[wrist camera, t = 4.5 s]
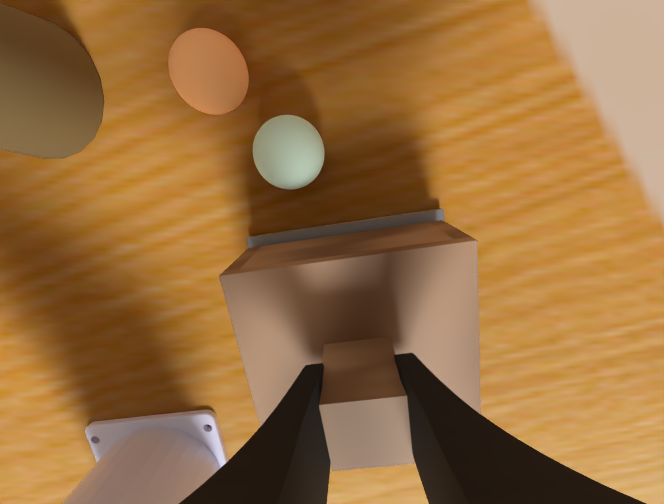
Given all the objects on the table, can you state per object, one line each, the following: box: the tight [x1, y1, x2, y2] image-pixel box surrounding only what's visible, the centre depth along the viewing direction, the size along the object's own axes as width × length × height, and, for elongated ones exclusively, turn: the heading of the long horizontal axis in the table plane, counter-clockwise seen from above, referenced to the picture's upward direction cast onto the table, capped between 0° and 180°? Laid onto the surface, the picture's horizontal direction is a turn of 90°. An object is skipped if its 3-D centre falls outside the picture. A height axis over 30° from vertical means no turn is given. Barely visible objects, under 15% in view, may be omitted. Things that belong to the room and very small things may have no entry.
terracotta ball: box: [168, 28, 249, 115], centre depth 12 cm, size 3×3×3 cm
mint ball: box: [253, 115, 325, 190], centre depth 13 cm, size 3×3×3 cm
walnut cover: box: [219, 220, 481, 471], centre depth 12 cm, size 9×9×7 cm
